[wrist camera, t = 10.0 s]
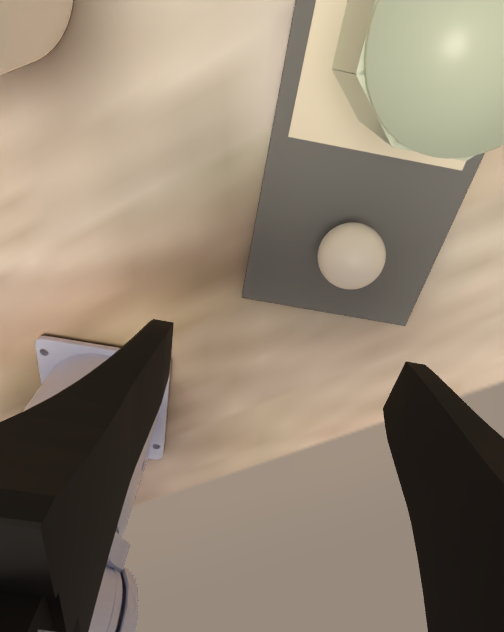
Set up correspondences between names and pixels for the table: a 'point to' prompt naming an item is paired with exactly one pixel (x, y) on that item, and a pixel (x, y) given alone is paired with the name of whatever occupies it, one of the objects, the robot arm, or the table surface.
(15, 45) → the cup
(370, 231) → the marble
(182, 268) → the table surface
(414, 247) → the mat
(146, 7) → the table surface
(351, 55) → the sage cup
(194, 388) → the table surface
